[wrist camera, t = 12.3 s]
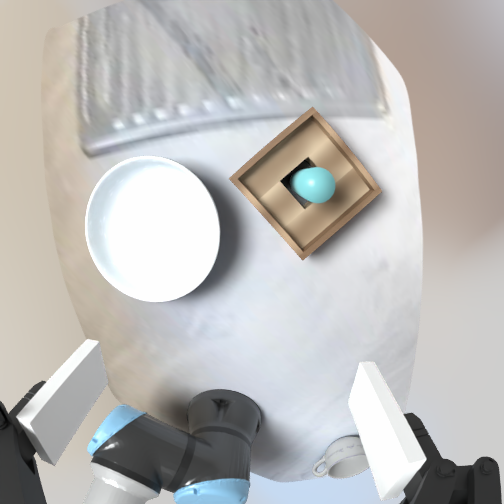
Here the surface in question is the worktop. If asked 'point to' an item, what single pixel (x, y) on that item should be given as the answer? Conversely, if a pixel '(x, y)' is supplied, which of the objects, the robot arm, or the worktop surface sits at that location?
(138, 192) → the serving bowl
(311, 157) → the bore box
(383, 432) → the robot arm
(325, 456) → the teacup
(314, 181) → the peg
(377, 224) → the worktop surface
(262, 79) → the worktop surface
